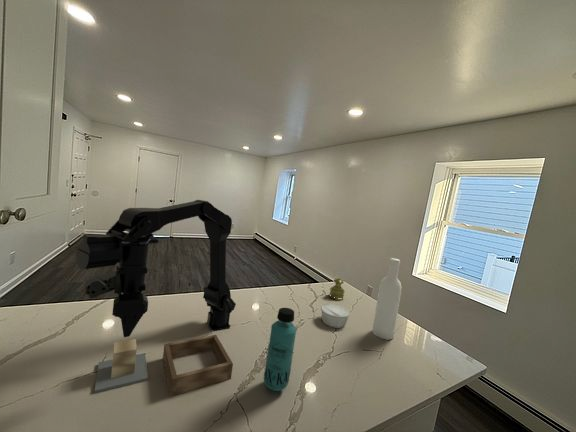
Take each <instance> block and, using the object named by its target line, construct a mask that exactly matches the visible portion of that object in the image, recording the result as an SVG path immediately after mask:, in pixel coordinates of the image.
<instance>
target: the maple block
mask: <svg viewBox="0 0 576 432" xmlns="http://www.w3.org/2000/svg"><path fill="white" fill-rule="evenodd" d="M137 350H138V349H137V339H135V338H134V339H129V340H123V341H121V340H120V341H116V342H114V344H113V352H112V353H113V355H112V359H113V362H112V373H111V378H115V377H120V376H124V375H129V374H133V373H134V369H135V360H136V355H137Z"/></svg>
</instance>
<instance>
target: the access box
mask: <svg viewBox="0 0 576 432" xmlns="http://www.w3.org/2000/svg"><path fill="white" fill-rule="evenodd" d="M209 351H212V353H213V355H214V357H215V359H216V360H217V363H218V364H215V365H211V366H207V367H203V368H200V369H196V370H192V371H187V372H184V373H180V374H179V373H178V374H177V371H176V368H175V367H176V366H175V363H174V360H173V359H176V358H181V357H187V356H191V355H195V354H199V353H204V352H209ZM162 362H163V366H164V370H165V375H166V381H167V385H168V390H169V394H170V397H173V396H177V395H179V394H183V393H186V392H190V391H193V390H197V389H198V390H199V389H201V388H204V387H207V386H211V385H214V384H218V383H221V382H224V381H227V380H228V381H229V380H231V379H232V374H233V367H234V363H233V361H232V360H231V357H230V356H229V355H228V352H227V351H226V349H225V347H224V346H223V343H222V342H221V340H220V339H219V337H218V336H217V334H213V335H212V334H211V335H207V336H202V337H201V336H200V337H197V338H191V339H185V340H179V341H174V342H169V343H164V346H163V354H162Z"/></svg>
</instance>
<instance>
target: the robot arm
mask: <svg viewBox="0 0 576 432" xmlns="http://www.w3.org/2000/svg"><path fill="white" fill-rule="evenodd" d="M195 217H198V219H199V220H200V221H202V222H203V225H204V231H205V233H206V236H207V237H208V240H209V265H210V266H209V272H210V273H209V283H208V284H207V286H204V287H203V297H202V298H203V299H204V301H205V302H206V306H207V307H209V308H210V309H209V311H207V320H206V324H207V326H208V327H209V328H210V330H211V331H218V330H225V329H230V328H231V325H230V324H229V323H230V317H231V316H230V315H231V313H232V312H233V311H234V310H235V308H236V305H237V304H236V302H235V301H234V300H233V298H232V294H231V288H230V286H229V285H228V283H227V281H226V274H227V272H226V269H227V267H226V266H227V265H226V261H227V260H226V259H227V258H226V257H227V256H226V253H227V239H228V237H229V236H230V234H231V231H232V225H233V220H232V217H230V215H228V214H226V213H224V212H223V211H221V210H220V209H218V208H217V207H215V206H214V205H213V204H212V203H211V202H209V200H202V199H196V200H194V201H188V202H183V203H179V204H174V205H169V206H164V207H156V208H155V207H154V208H153V207H129V208H125V209H124V210H122V212H121V214H120V215H119V218H118V220H116V222H115V223H114V224H113V225H112V226H111V227H110V228H109V229H108V231H106V232H105V235H104V234H103V235H94V234H84V235H83V236H82V240H81V241H80V242H79V244H78V247H77V248H76V249H75V260H76V264H77V267H78V268H79V269H80V270H81V271H82V270H83V271H85V270H91V269H98V268H105V267H107V268H108V267H113V266H116V270H114V271H110V272H106V273H103V274H99V275H96V276H93V277H90V278H88V279H86V280H85V282H84V288H85V295H87V296H88V298H89V299H91V300H93V299H95V298H97V297H98V296H102V295H104V294H107V293H110V292H112V291H114V292H113V294H117V295H118V296H116V297H115V298H114V299H113V305H112V314H111V315H112V316H114V317H115V318H119V319H120V322H121V328H122V334H123V335H122V336H123V338H128V337H130V336H131V334H132V333H133V332H134V330H135V328H136V327H137V325H138V323H139V322H140V320H141V319H142V317H143V316H144V315H146V313H147V312H148V309H149V301H148V296H146V294H145V293H143V292H144V291H146V287H147V285H146V279H147V278H146V277H147V274H148V262H149V261H148V260H149V250H150V244H151V245H152V244H158V243H159V240H158V238H157V237H155V236H154V233H155V232H157V231H160V230H161V229H162V228H163V227H165V226H167V225H169V224H172V223H177V222H179V221H180V222H181V221H184V220H187V219H191V218H195ZM117 264H118V265H117Z"/></svg>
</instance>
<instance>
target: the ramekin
mask: <svg viewBox="0 0 576 432" xmlns="http://www.w3.org/2000/svg"><path fill="white" fill-rule="evenodd" d="M349 316H350V311H349V310H348V309H347V308H344V307H343V306H340V305H337V304H330V303H329V304H324V305H322V306H321V320H322V321H323V323H324V324H325V325H327V326H328V327H331V328H335V329H341V328H343V327H345V326H346V324H347V322H348V319H349Z"/></svg>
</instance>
